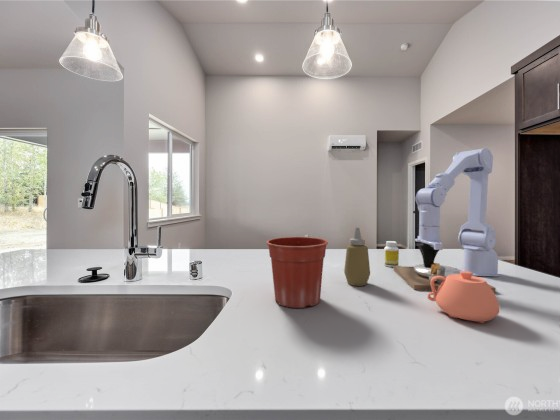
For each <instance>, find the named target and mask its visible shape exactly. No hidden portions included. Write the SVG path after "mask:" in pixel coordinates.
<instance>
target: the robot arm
mask: <svg viewBox="0 0 560 420" xmlns="http://www.w3.org/2000/svg"><path fill="white" fill-rule="evenodd" d="M493 161H494V155H493V152H491V150H490V149H489V148H488V147H482V148H479V149H473V150H465V151H457V152H455V155H453V157H452V162H451V163H450V165H449V167H448V168H447V169H446V170H445V171H444V172H442V173H437V174H436V175H435V177H434V178H433V179H432V180H431V182H429V183H428V185H426V187H424V188H420V189H419V190H418V191H417V192H416V195H415V197H414V198H415V202H416V205H417V210H418V212H419V216H418V217H419V219H418V220H419V222H418V223H419V224H418V228H419V229H418V235H417V238H415V239H414V240H415V242H416V243H417V242H418V243H422V245H421V244H419V245H417V248H418V250H419V252H420V254H421V257H422V262H423V264H424V267H425V268H431V263H435V259H436V257H437V255H438V253H439V251H442V250H443V247H444V245H443V242H441V239H440V236H441V235H440V234H441V233H440V232H441V231H440V230H441V228H440V226H441V223H440V222H441V221H440V220H441V206H442V205H444V203H445V201H446V197H447V195H448V194H447V193H448V192H449V191H450V190H451V189H452V188H453V187H454V185H455V181H456V180H455V179H456V178H457V177H458V176H460V174H463V175H465V176H468V177H469V178H470V180H469V183H470V184H469V199H468V214H467V221H466V222H465V223H464V224H462V225H460V229H459V233H458V237H457V240H458V242H459V244H460V246H461V248H463V268H458V269H459V270H461V271H469V272H472V273H473V275H472V276H476V277H500V274H499V273H498V271H499V269H498V268H499V257H498V253H497V252H496V251H495V250H494V249H493V248H495V246H496V243H497V238H496V234H495V232H496V231H495V228H494V227H493V226H492V225H491V224H489V223H488V222H486V221H487V220H486V219H487V218H486V217H487V202H488V186H489V174H492V171H493V163H494V162H493Z"/></svg>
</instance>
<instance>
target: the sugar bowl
mask: <svg viewBox="0 0 560 420" xmlns="http://www.w3.org/2000/svg"><path fill="white" fill-rule="evenodd" d="M472 275H473V273H472V272H469V271H460V274H451V275H449V276H447V277H446V278H445V277H443V276H435V277H433V278H432V279H431V282H430V284H431V288H432V292H431V291H430V292H428V293H427V296H426V297H427V299H428V300H430V301H431V302H436V304H437V306H438V307H439V308H440V310H441V311H442V312H444V313H446V314H448V317H450V318H453V319H454V318H455V319H458V318H459V319H461V320H465V321H470V322H475V323H480V324H485V322H489V321H491V320H493V319H494V318H496V317H497V316H498V315H499V313H500V304H499V300H498V298H497V296H496V293H494V292H493V291H492V289H491V288H490V286H489V285H490V284H489V283H488V282H487V281H486V280H485V279H484V278H482V277H480V276H472ZM436 279H442V280H444V281H443V282H442V283H441V285H440V286H439V288H438V290H437V291H436V290H435V287H434V281H435V280H436ZM488 284H489V285H488ZM431 295H432V296H433V297H431Z"/></svg>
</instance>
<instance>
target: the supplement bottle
mask: <svg viewBox="0 0 560 420" xmlns="http://www.w3.org/2000/svg"><path fill="white" fill-rule="evenodd" d="M385 245H386V246H385V247H384V248H383V251H384V252H383V265H384V266H385V267H387V268H393V266H399V256H400V255H399V254H400V253H399V247H398V242H397V241H395V240H386V241H385Z"/></svg>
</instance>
